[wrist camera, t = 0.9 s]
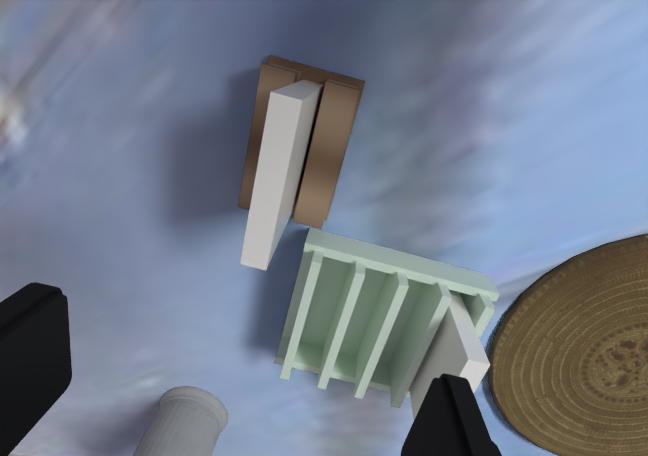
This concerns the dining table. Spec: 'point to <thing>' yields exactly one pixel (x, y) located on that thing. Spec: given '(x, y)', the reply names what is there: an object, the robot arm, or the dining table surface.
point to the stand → (326, 137)
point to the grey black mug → (184, 424)
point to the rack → (384, 319)
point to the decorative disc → (579, 355)
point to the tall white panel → (280, 168)
